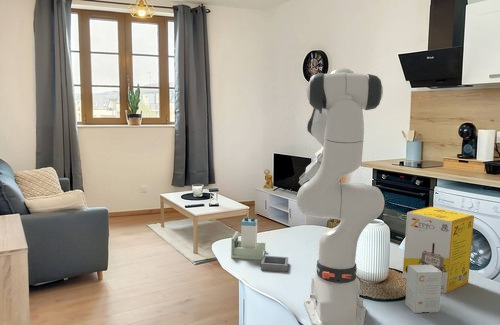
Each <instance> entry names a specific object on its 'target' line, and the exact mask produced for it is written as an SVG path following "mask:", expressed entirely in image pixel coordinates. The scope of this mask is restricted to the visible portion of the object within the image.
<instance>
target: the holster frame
mask: <svg viewBox="0 0 500 325" xmlns="http://www.w3.org/2000/svg"><path fill="white" fill-rule="evenodd" d="M288 265H289V257H288V256H275V255H264V256H263V258H262V260H261V262H260V271H271V272H272V271H273V272H285V273H286V272H288V267H289V266H288Z"/></svg>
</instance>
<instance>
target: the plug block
mask: <svg viewBox="0 0 500 325" xmlns="http://www.w3.org/2000/svg"><path fill="white" fill-rule="evenodd" d="M240 225H241V230H240V231H241V232H240V233H241V234H240V235H241V236H240V241H241V248H255V249H257V242H258V219H257V218H255V217H250V218H249V216H248V217H247V216H244V217H243V219H242V220H241V224H240Z"/></svg>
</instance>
